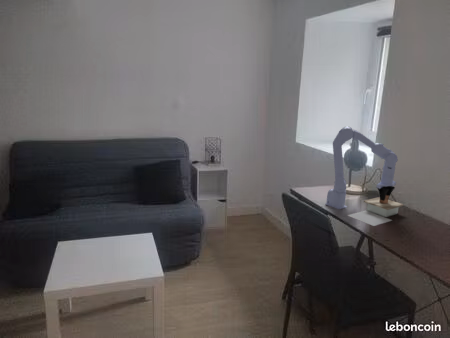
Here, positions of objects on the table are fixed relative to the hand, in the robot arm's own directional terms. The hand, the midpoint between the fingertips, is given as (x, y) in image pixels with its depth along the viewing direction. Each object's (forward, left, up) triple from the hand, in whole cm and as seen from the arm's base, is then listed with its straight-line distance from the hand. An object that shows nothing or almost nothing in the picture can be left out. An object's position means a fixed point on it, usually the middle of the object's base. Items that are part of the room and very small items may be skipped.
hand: (384, 199), depth 183 cm
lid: (0, 0, -2) cm, 2 cm away
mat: (+2, -14, -7) cm, 16 cm away
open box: (0, 0, -7) cm, 7 cm away
